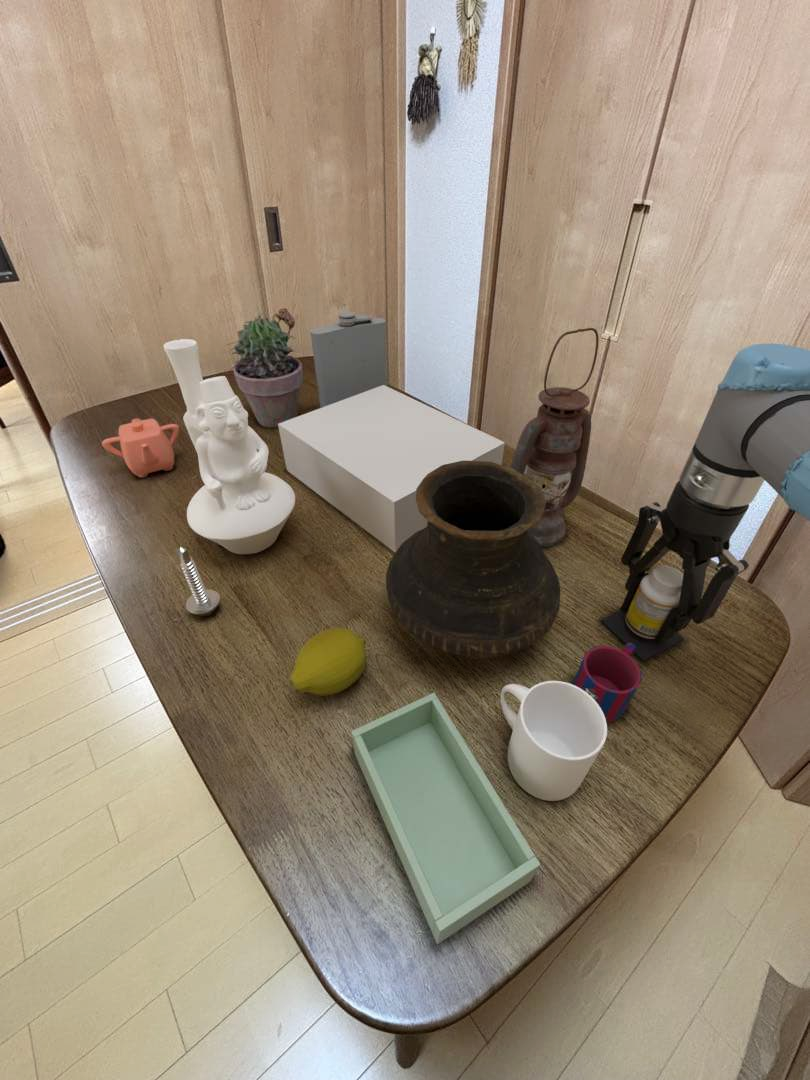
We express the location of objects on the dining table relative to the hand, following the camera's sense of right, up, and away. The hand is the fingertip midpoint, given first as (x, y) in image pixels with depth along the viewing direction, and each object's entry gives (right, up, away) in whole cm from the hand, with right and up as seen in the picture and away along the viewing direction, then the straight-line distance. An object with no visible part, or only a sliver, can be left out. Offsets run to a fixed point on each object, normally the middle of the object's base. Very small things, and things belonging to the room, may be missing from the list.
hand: (645, 622), depth 69 cm
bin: (-31, -18, -17) cm, 40 cm away
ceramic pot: (-25, 0, +4) cm, 25 cm away
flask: (-47, +42, +51) cm, 81 cm away
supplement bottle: (0, -1, 0) cm, 1 cm away
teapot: (-89, +28, +35) cm, 99 cm away
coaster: (0, -1, +1) cm, 2 cm away
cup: (-8, -8, -6) cm, 13 cm away
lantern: (-11, +14, +19) cm, 26 cm away
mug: (-20, -13, -12) cm, 27 cm away
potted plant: (-67, +42, +51) cm, 94 cm away
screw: (-65, +1, +4) cm, 65 cm away
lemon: (-44, -7, -5) cm, 45 cm away
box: (-38, +24, +31) cm, 54 cm away
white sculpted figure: (-63, +13, +19) cm, 67 cm away
